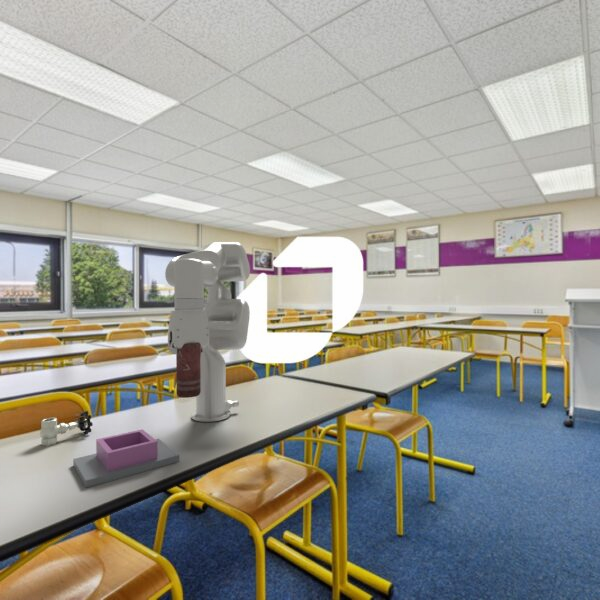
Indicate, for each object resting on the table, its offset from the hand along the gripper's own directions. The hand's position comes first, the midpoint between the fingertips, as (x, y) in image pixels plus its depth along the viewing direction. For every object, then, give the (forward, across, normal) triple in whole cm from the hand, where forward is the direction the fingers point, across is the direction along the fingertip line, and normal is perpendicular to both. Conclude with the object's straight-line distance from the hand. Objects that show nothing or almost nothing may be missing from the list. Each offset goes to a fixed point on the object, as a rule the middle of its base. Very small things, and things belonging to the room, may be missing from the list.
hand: (189, 374), depth 103 cm
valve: (+19, +25, -27) cm, 41 cm away
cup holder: (+19, +16, +1) cm, 25 cm away
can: (+6, 0, 0) cm, 6 cm away
